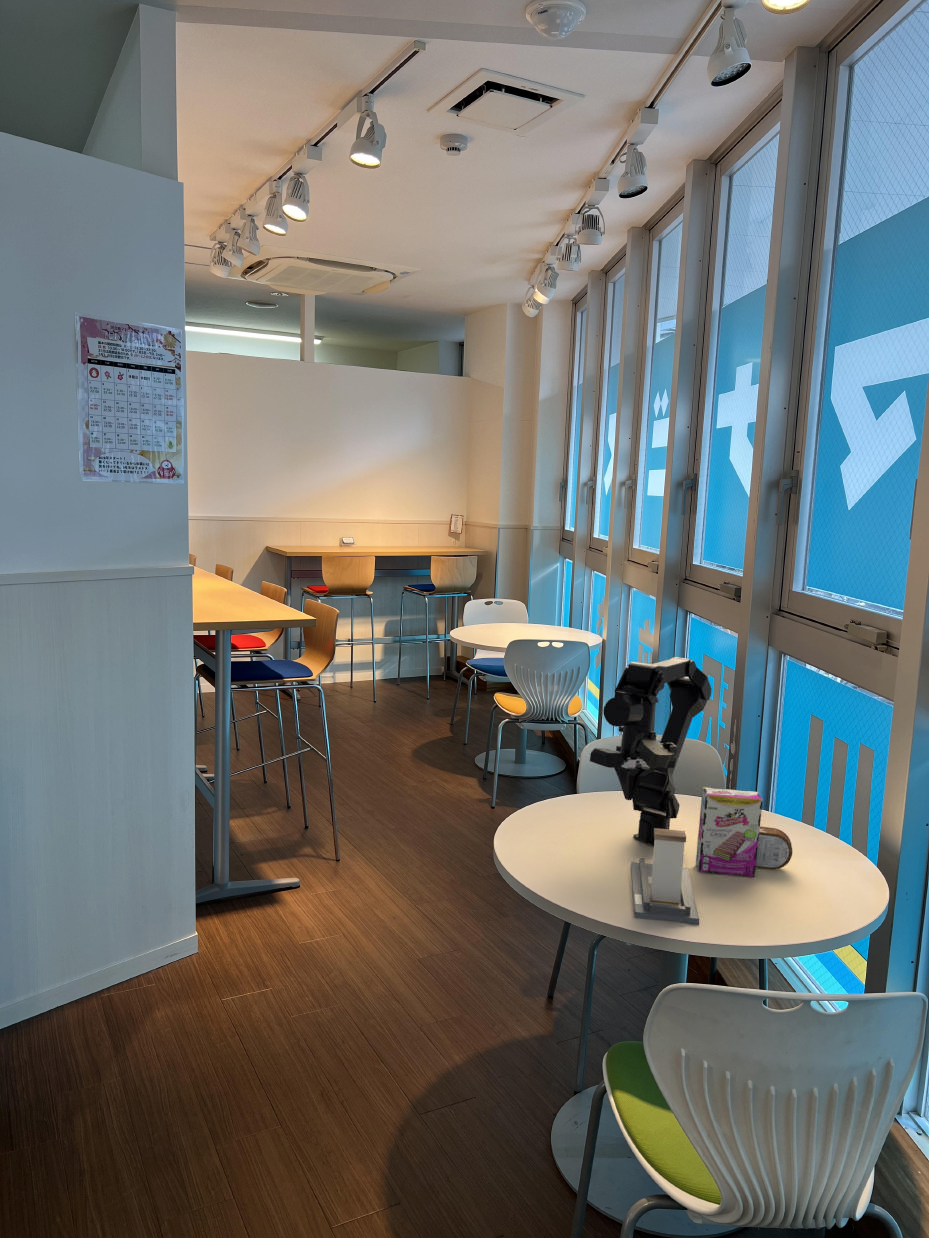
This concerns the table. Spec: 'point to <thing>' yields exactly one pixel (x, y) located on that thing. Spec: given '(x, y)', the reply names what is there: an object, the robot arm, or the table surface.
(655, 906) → the switch housing
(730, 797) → the candy bar box
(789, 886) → the table surface
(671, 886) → the switch tab
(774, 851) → the tin
